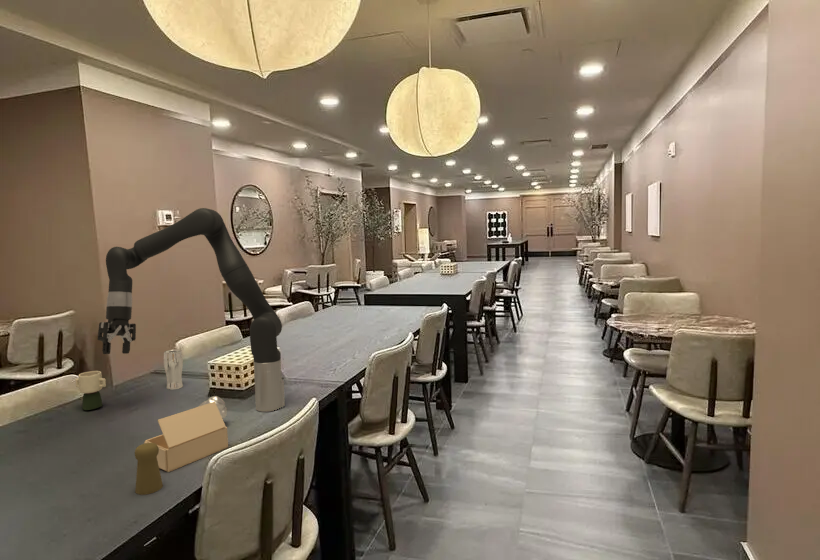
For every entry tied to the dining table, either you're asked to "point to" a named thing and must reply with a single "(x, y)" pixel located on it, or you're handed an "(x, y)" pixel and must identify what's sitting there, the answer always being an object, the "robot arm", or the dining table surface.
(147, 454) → the cork
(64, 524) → the dining table surface
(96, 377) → the trophy cup
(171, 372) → the beer glass
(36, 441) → the dining table surface
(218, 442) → the carton
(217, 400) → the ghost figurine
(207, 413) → the flap
